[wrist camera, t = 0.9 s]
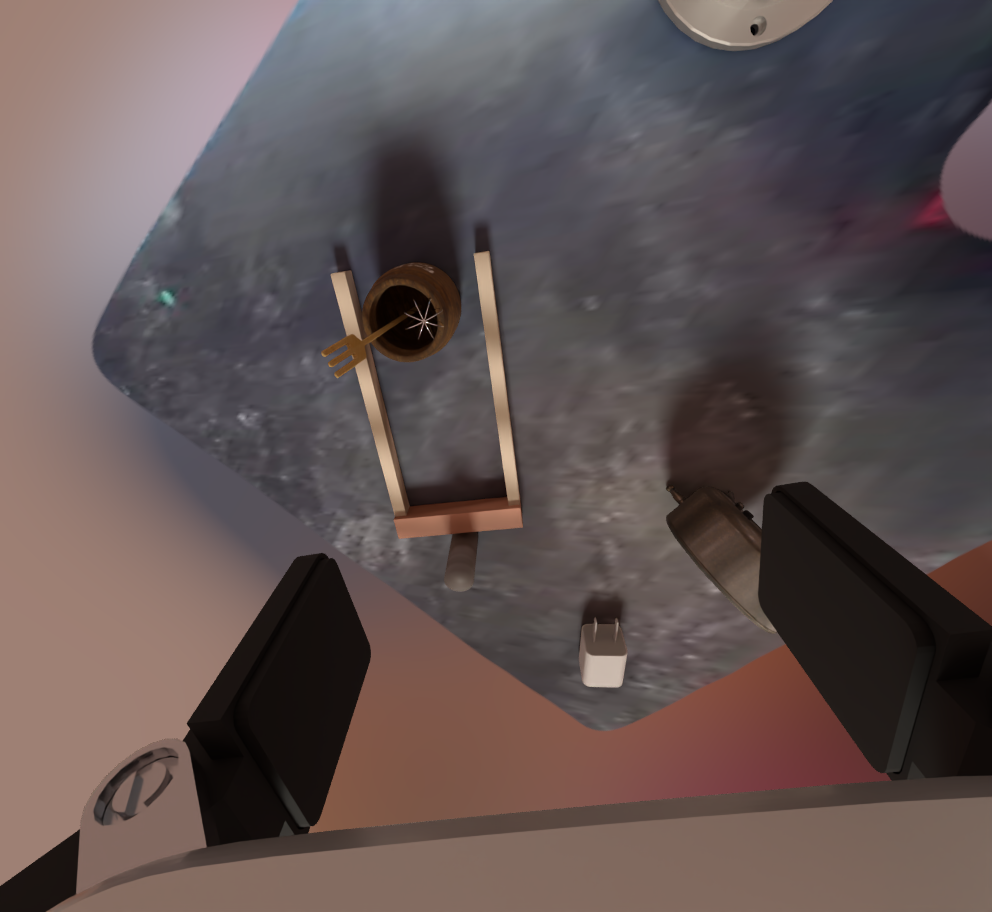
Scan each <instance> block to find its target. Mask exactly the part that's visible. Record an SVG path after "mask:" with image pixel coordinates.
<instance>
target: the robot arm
mask: <svg viewBox="0 0 992 912" xmlns="http://www.w3.org/2000/svg"><path fill="white" fill-rule="evenodd" d="M658 1H659V3H660V5H661V7H662V9H663V10H664V12H665V13H666V14H667V16H668V17H669V18H670V19H671V20H672V22H673V23H674V24H675V25H676V26H677V28H678V29H680V30H681V31H682V32H684V33H685V34H686V35H688V36H689V37H690V38H692V39H693V40H694V41H696V42H699V43H701V44H704V45H706V46H709V47H711V48H713V49H721V50H728V51H741V50H750V49H756V48H759V47H762V46H765V45H768V44H771V43H774V42H777V41H778V40H780V39H782V38H784V37H785V36H787V35H789V34H791V33H792V32H794V31H796V30H798V29H799V28H800V27H802V26H803V25H804V24H806V23H807V22H809V21H810V20H811V19H813V18H814V17H816V16H817V15H818V14H819V13H820V12H821V11H822V10H823V9H824V8H825V7H826V6H828V5H829V4H830V3H831V2H832V1H833V0H658ZM750 27H753V28H754V29H755V34H754V36H753V35H752V33H751V30H750ZM758 599H759V603H760V606H761V608H762V610H763V612H764V614H765V615H766V617H767V618H768V619H769V621H770V622H771V624H772V625H773V627H774V628H775V629H776V631H777V632H778V634H779V635H780V637H781V638H782V639H783V641H784V642H785V644H786V645H787V647H788V648H789V649H790V651H791V652H792V654H793V655H794V656H795V658H796V659H797V661H798V662H799V664H800V665H801V666H802V668H803V669H804V671H805V672H806V674H807V675H808V676H809V678H810V679H811V680H812V682H813V683H814V685H815V686H816V688H817V689H818V691H819V692H820V693H821V695H822V696H823V698H824V699H825V701H826V702H827V703H828V705H829V706H830V708H831V709H832V711H833V712H834V713H835V715H836V716H837V718H838V719H839V721H840V722H841V723H842V725H843V726H844V728H845V729H846V730H847V732H848V733H849V735H850V736H851V738H852V739H853V740H854V741H855V743H856V744H857V746H858V747H859V749H860V750H861V752H862V753H863V755H864V756H865V758H866V759H867V760H868V762H869V763H870V764H871V766H872V767H873V768H874V769H875V770H876V771H878V772H880V773H887V775H888V776H889V777H890V779H891V780H892V781H880V782H866V783H850V784H836V785H825V786H813V787H802V788H790V789H778V790H766V791H756V792H744V793H732V794H721V795H708V796H697V797H685V798H673V799H663V800H651V801H640V802H630V803H619V804H608V805H597V806H585V807H574V808H564V809H553V810H542V811H531V812H520V813H510V814H499V815H488V816H477V817H467V818H457V819H447V820H437V821H426V822H416V823H407V824H396V825H386V826H375V827H366V828H355V829H345V830H334V831H325V832H317V833H308V832H309V829H310V826H314V825H315V824H316V823H317V822H318V820H319V818H320V816H321V813H322V810H323V807H324V804H325V801H326V797H327V794H328V791H329V788H330V785H331V782H332V779H333V776H334V773H335V769H336V766H337V763H338V760H339V757H340V754H341V750H342V747H343V744H344V741H345V738H346V734H347V732H348V729H349V725H350V722H351V719H352V716H353V713H354V709H355V707H356V703H357V700H358V697H359V694H360V691H361V687H362V684H363V682H364V678H365V675H366V672H367V669H368V666H369V663H370V658H371V650H370V645H369V642H368V639H367V637H366V634H365V632H364V629H363V627H362V625H361V622H360V620H359V617H358V615H357V612H356V609H355V607H354V605H353V602H352V600H351V597H350V595H349V592H348V590H347V587H346V585H345V582H344V580H343V577H342V575H341V572H340V570H339V567H338V565H337V563H336V561H335V560H334V559H332V558H330V559H329V558H328V556H327V555H325V554H323V553H319V554H313V555H306V556H300V557H297V558H296V559H295V560H294V561H293V563H292V564H291V566H290V567H289V569H288V571H287V572H286V574H285V575H284V577H283V578H282V580H281V581H280V583H279V584H278V586H277V587H276V589H275V590H274V592H273V593H272V595H271V596H270V598H269V599H268V601H267V602H266V604H265V605H264V607H263V608H262V610H261V611H260V613H259V614H258V616H257V618H256V619H255V621H254V622H253V624H252V625H251V627H250V628H249V630H248V631H247V633H246V634H245V636H244V637H243V639H242V640H241V642H240V643H239V645H238V646H237V648H236V649H235V651H234V652H233V654H232V655H231V657H230V659H229V660H228V662H227V663H226V665H225V666H224V668H223V669H222V671H221V672H220V674H219V675H218V677H217V678H216V680H215V681H214V683H213V684H212V686H211V687H210V689H209V690H208V692H207V693H206V695H205V696H204V698H203V699H202V701H201V703H200V704H199V706H198V707H197V709H196V710H195V712H194V713H193V715H192V716H191V718H190V719H189V721H188V722H187V725H188V726H189V728H190V730H189V732H188V734H187V735H186V737H185V738H184V740H183V741H181V740H179V739H164V740H160V741H157V742H154V743H151V744H149V745H147V746H145V747H143V748H141V749H139V750H138V751H136V752H134V753H133V754H132V755H130V756H129V757H128V758H126V759H125V760H123V761H122V762H121V763H119V764H118V765H117V766H116V767H115V768H114V769H113V770H112V771H111V772H110V773H109V774H108V775H106V777H105V778H104V779H103V780H102V781H101V783H100V784H99V785H98V786H97V788H96V789H95V790H94V791H93V793H92V794H91V796H90V798H89V800H88V801H87V803H86V805H85V807H84V810H83V814H82V818H81V824H80V830H78V831H77V832H75V833H74V834H73V835H71V836H70V837H69V838H67V839H66V840H64V841H63V842H61V843H60V844H59V845H57V846H56V847H54V848H53V849H52V850H50V851H49V852H47V853H46V854H45V855H43V856H42V857H41V858H39V859H38V860H36V861H35V862H33V863H32V864H31V865H29V866H28V867H26V868H25V869H24V870H22V871H21V872H19V873H18V874H17V875H15V876H14V877H12V878H11V879H10V880H8V881H7V882H5V883H4V884H3V885H1V886H0V912H992V626H991V625H989V624H988V623H987V622H986V621H984V620H983V619H982V618H981V617H979V616H978V615H977V614H975V613H974V612H973V611H972V610H970V609H969V608H968V607H966V606H965V605H964V604H963V603H961V602H960V601H959V600H958V599H956V598H955V597H954V596H953V595H951V594H950V593H949V592H947V591H946V590H945V589H944V588H942V587H941V586H940V585H938V584H937V583H936V582H935V581H933V580H932V579H931V578H930V577H928V576H927V575H926V574H925V573H923V572H922V571H921V570H920V569H918V568H917V567H916V566H914V565H913V564H912V563H911V562H909V561H908V560H907V559H906V558H904V557H903V556H902V555H900V554H899V553H898V552H897V551H895V550H894V549H893V548H892V547H890V546H889V545H888V544H886V543H885V542H884V541H883V540H881V539H880V538H879V537H878V536H876V535H875V534H874V533H872V532H871V531H870V530H869V529H867V528H866V527H865V526H864V525H862V524H861V523H860V522H859V521H857V520H856V519H855V518H853V517H852V516H851V515H850V514H848V513H847V512H846V511H845V510H843V509H842V508H841V507H839V506H838V505H837V504H836V503H834V502H833V501H832V500H831V499H829V498H828V497H827V496H825V495H824V494H823V493H822V492H820V491H819V490H818V489H817V488H815V487H814V486H813V485H811V484H810V483H808V482H798V483H791V484H785V485H778V486H775V487H774V488H773V490H772V493H771V494H767V495H766V496H765V498H764V505H763V521H762V537H761V553H760V569H759V585H758Z"/></svg>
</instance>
